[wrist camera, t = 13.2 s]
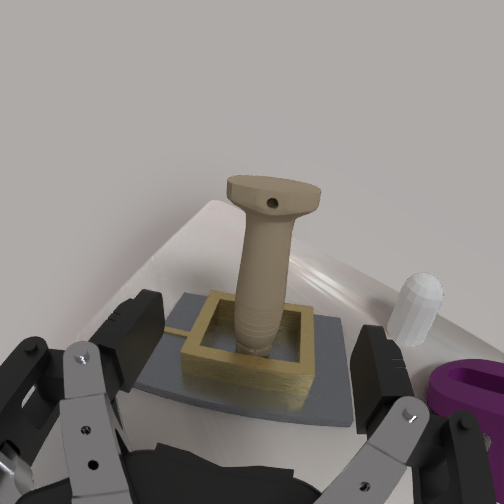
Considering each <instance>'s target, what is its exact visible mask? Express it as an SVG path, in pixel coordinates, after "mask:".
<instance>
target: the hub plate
mask: <svg viewBox="0 0 504 504" xmlns="http://www.w3.org/2000/svg"><path fill="white" fill-rule="evenodd" d="M235 296H236V295H235V294H229V293H223V292H218V291H212V290H211V292H210V294H209V296H208V297H205V296H200V295H195V294H190V293H185V292H184V294H183V295H182V297H181V298H180V300H179V302H178V303H177V305H176V306H175V308H174V309H173V311H172V312H171V314H170V316H169V317H168V319H167V320H166V322H165V329H164V333H163V336H162V338H161V339H160V341H159V343H158V344H157V346H156V348H155V349H154V351H153V353H152V354H151V356H150V358H149V359H148V361H147V363H146V365H145V366H144V368H143V370H142V371H141V373H140V375H139V377H138V378H137V380H136V382H135V383H134V385H133V387H134V388H137V389H140V390H143V391H146V392H149V393H152V394H156V395H159V396H162V397H166V398H169V399H173V400H176V401H180V402H184V403H187V404H191V405H195V406H199V407H204V408H208V409H212V410H217V411H222V412H226V413H231V414H237V415H242V416H248V417H254V418H260V419H266V420H273V421H281V422H289V423H298V424H308V425H320V426H336V427H350V425H351V424H352V422H353V421H354V419H353V409H352V399H351V390H350V382H349V374H348V366H347V359H346V352H345V345H344V338H343V332H342V325H341V319H340V318H337V317H329V316H322V315H315V314H313V307H310V306H303V305H296V304H290V303H284V308H283V313H282V318H281V321H280V325H279V328H278V331H277V334H276V336H275V338H274V340H273V342H272V343H271V345H272V349H271V351H270V353H269V355H268V356H266V357H256V356H251V355H245V354H240V353H238V352H237V350H236V341H237V337H236V333H235V323H234V322H235V321H234V308H235Z"/></svg>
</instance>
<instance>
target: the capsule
mask: <svg viewBox="0 0 504 504" xmlns="http://www.w3.org/2000/svg"><path fill="white" fill-rule="evenodd" d="M442 299H443V289H442V286H441V283H440V282H439V281H438V279H437V278H436V277H435V276H433V275H431V274H429V273H425V272H423V273H417V274H414V275H412V276H411V277H410V278H408V279H407V281H406V282H405V284H404V285H403V287H402V289H401V291H400V294H399V297H398V299H397V302H396V304H395V307H394V309H393V312H392V314H391V317H390V319H389V322H388V324H387V332H388V333H389V335H390V337H392V338H393V339H394V340H395V341H396V342H398V343H400V344H402V345H405V346H410V347H415V346H419V345H421V344H423V342H424V340H425V338H426V336H427V334H428V332H429V330H430V328H431V326H432V324H433V322H434V319H435V317H436V315H437V313H438V311H439V309H440V306H441V303H442Z"/></svg>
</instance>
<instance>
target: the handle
mask: <svg viewBox="0 0 504 504" xmlns="http://www.w3.org/2000/svg"><path fill="white" fill-rule="evenodd" d="M320 195H321V190H320V188H318V187H316V186H314V185H311V184H307V183H303V182H299V181H294V180H289V179H282V178H274V177H266V176H265V177H264V176H247V175H243V176H242V175H237V176H232V177H229V178H228V180H227V198H228V199H229V200H230V201H231V202H232V203H233V204H234V205H236V206H238V207H239V208H241V209H242V210H243V211H244V212H245V213H246V230H245V237H244V244H243V251H242V258H241V264H240V270H239V276H238V282H237V289H236V296H235V308H234V321H235V322H234V323H235V333H236V337H237V341H236V350H237V352H238V353H240V354H245V355H251V356H256V357H266V356H268V355H269V353H270V351H271V349H272V345H271V343H272V342H273V340H274V338H275V336H276V334H277V331H278V328H279V325H280V321H281V318H282V313H283V308H284V302H285V294H286V284H287V274H288V264H289V255H290V246H291V237H292V230H293V226H294V222H295V219H296V218H298V217H301V216H303V215H306V214H309V213H311V212H313V211H315V210H316V209H317V208H318V206H319V201H320Z"/></svg>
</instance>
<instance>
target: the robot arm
mask: <svg viewBox="0 0 504 504" xmlns="http://www.w3.org/2000/svg"><path fill="white" fill-rule="evenodd" d="M164 329H165V318H164V308H163V298H162V294H161V293H160V292H155V291H150V290H146V289H143V290H141V291H140V293H139V294H138V295H137V296H136V297H135V298H134V299H131V298H130V299H128V300H126V301H125V302H123V303H121V304H120V305H119V306H118V307H117V308H116V309H115V310H114V311H113V314H111V315H110V316H109V317H108V320H106V321H105V322H104V323H103V324H102V325H101V327H100V328H99V329H98V330H97V331H96V332H95V334H94V335H93V336H92V337H91V338H90V340H89V341H88V342H87V341H81V342H76V343H74V344H72V345H70V346H69V347H68V348H67V349H66V350H55V349H49V348H48V346H47V344H46V341H45V340H44V339H43V338H41V337H36V336H35V337H29V338H26V339H24V340H23V341H22V342H21V343H20V344H19V345H18V346H17V347H16V348H15V349H14V351H13V352H12V353H11V354H10V355H9V356H8V358H7V359H6V360H5V361H4V362H3V364H2V365H1V366H0V504H384V503H385V501H386V500H387V498H388V497H389V496H390V494H391V493H392V491H393V490H394V488H395V487H396V485H397V484H398V482H399V481H400V479H401V477H402V476H403V474H404V472H405V471H406V469H407V466H410V467H412V480H413V498H414V504H496V496H495V490H494V484H493V479H492V473H491V469H490V464H489V459H488V455H487V451H486V447H485V443H484V439H483V436H482V432H481V428H480V425H479V422H478V420H477V418H476V417H475V416H474V415H473V414H472V413H471V412H469V411H467V410H456V411H455V412H453V413H452V414H451V416H450V417H449V418H447V417H443V416H439V415H435V414H431V413H429V410H428V408H427V406H426V405H425V404H424V403H423V402H422V401H421V400H419V399H417V398H415V396H414V393H413V389H412V386H411V382H410V379H409V376H408V372H407V369H405V367H406V366H405V363H404V361H403V357H402V353H401V350H400V348H399V347H398V346H397V345H396V343H395V342H394V341H393V340H388V339H387V338H386V335H385V331H384V328H383V327H382V326H374V325H363V327H362V329H361V331H360V334H359V336H358V339H357V342H356V344H355V347H354V349H353V352H352V355H351V359H350V372H351V380H352V388H353V397H354V407H355V417H356V429H357V434H367V441H366V443H365V444H364V445H363V446H362V448H361V449H360V450H359V451H358V453H357V454H356V455H355V456H354V458H353V459H352V460H351V461H350V462H349V464H348V465H347V466H346V467H345V468H344V469H343V470H342V472H341V473H340V474H339V475H338V476H337V477H336V478H335V479H334V480H333V482H332V483H331V484H330V485H329V486H328V487H327V488H326V489H325V490H324V491H323V492H322V493H321V492H320V491H319V490H317V489H316V488H314V487H313V486H312V485H310V484H308V483H306V482H304V481H302V480H299V479H297V478H293V473H294V470H293V469H282V468H273V467H265V466H248V467H221V466H218V465H216V464H214V463H212V462H209V461H207V460H205V459H203V458H201V457H199V456H197V455H195V454H193V453H191V452H189V451H185V450H181V449H178V448H174V447H171V446H168V445H164V444H161V443H157V446H156V448H155V450H136V451H132V448H131V446H130V443H129V441H128V438H127V435H126V432H125V429H124V425H123V421H122V418H121V414H120V410H119V406H118V402H117V398H116V394H117V392H118V391H119V390H122V391H125V392H127V393H129V392H130V390H131V389H132V387H133V385H134V383H135V382H136V380H137V378H138V377H139V375H140V373H141V371H142V370H143V368H144V366H145V365H146V363H147V361H148V359H149V358H150V356H151V354H152V353H153V351H154V349H155V348H156V346H157V344H158V343H159V341H160V339H161V338H162V336H163V333H164ZM33 385H34V387H35V388H36V389H35V390H34V392H33V393H32V395H31V396H30V398H29V399H28V400H27V402H26V403H25V405H24V406H23V408H22V401H23V399H24V398H25V396H26V395H27V393H28V392H29V390H30V389H31V388H32V386H33ZM59 415H60V417H61V427H62V436H63V443H64V450H65V456H66V462H67V468H68V473H69V478H66V479H64V480H61V481H58V482H56V483H53V484H50V485H47V486H44V487H42V488H39V489H36V490H33V491H30V489H32V488H33V486H34V481H33V479H32V470H31V468H30V467H31V465H32V464H33V462H34V460H35V458H36V456H37V454H38V452H39V450H40V449H41V447H42V445H43V443H44V441H45V439H46V438H47V436H48V434H49V432H50V431H51V429H52V427H53V425H54V424H55V422H56V420H57V419H58V417H59Z"/></svg>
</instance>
